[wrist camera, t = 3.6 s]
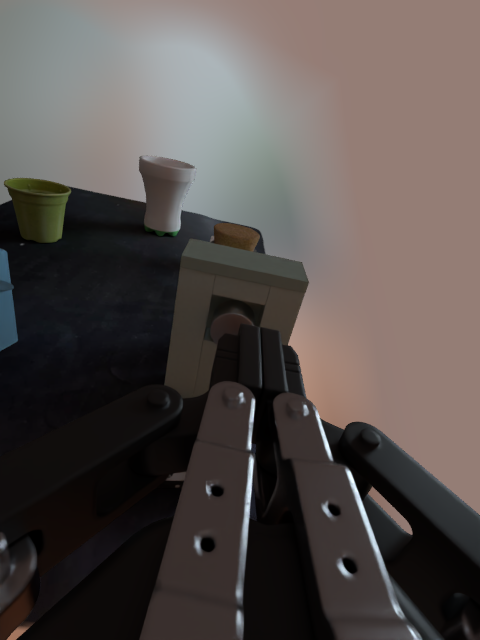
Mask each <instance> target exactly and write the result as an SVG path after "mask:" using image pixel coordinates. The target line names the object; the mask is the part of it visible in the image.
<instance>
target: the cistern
mask: <svg viewBox="0 0 480 640" xmlns="http://www.w3.org/2000/svg"><path fill="white" fill-rule="evenodd" d="M308 283H309V281H308V278H307V275H306V272H305V270H304V267H303V264H302V262H298V261H293V260H289V259H284V258H279V257H275V256H270V255H266V254H261V253H256V252H252V251H247V250H242V249H238V248H233V247H228V246H224V245H219V244H214V243H210V242H205V241H200V240H196V239H190V240H189V242H188V244H187V246H186V248H185V250H184V252H183V254H182V255H181V263H180V271H179V279H178V287H177V294H176V302H175V309H174V317H173V324H172V332H171V339H170V347H169V354H168V362H167V369H166V377H165V384H164V385H166V386H169V387H171V388H173V389H175V390H176V391H177V392H178V393H179V394H180V395H181V397H182V398H193V397H198V396H200V395H203V394H204V393H206V392H207V391H208V390H209V384H210V377H211V371H212V367H213V362H214V358H215V353H216V349H217V345H216V344H215V343H214V341H213V340H212V338H211V335H210V327H211V323H212V318H213V313H214V311H215V309H216V308H217V306H218V305H220V304H221V303H223V302H225V301H228V300H238V301H242V302H244V303H246V304H247V305H248V306H250V308H251V309H252V310H253V312H254V316H255V326H258V327H260V328H261V327H263V328H268V329H273V330H278V331H280V335H281V342H282V344H283V345H288V342H289V339H290V336H291V333H292V330H293V327H294V324H295V321H296V318H297V315H298V312H299V309H300V306H301V303H302V300H303V297H304V294H305V292H306V289H307V286H308Z"/></svg>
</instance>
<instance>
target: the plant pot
mask: <svg viewBox="0 0 480 640" xmlns="http://www.w3.org/2000/svg"><path fill="white" fill-rule="evenodd" d="M4 185H5V186H6V187H7V188H8V192H9V195H10V196H11V197H12V201H13V205H14V209H15V213H16V217H17V220H18V225H19V229H20V233H21V236H22V237H23V238H24V239H26V240H34V241H36V242H39V243H50V242H51V243H52V242H56V241H57V240H58V239H61V237H62V229H63V220H64V212H65V204H66V202H67V200H68V195H69V194H70V193H71V189H70V188H69V187H67V186H65V185H62V184H59V183H55V182H51V181H46V180H40V179H31V178H13V179H8V180H5V181H4Z"/></svg>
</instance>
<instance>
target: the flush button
mask: <svg viewBox="0 0 480 640" xmlns="http://www.w3.org/2000/svg"><path fill="white" fill-rule="evenodd" d="M241 323H243V324H248V325H253V326H255V316H254V312H253V310H252V309H251V308H250V306H248V305H247V304H246V303H244V302H242V301H238V300H228V301H225V302H223V303H221V304H220V305H218V306H217V308H216V309H215V311H214V313H213V318H212V323H211V327H210V335H211V338H212V340H213V341H214V343H215V344H216V345H217V344H218V340H219V339H220V338H221V337H222V336H223V335H224V334H225V333H227V334H232V335H238V331H239V327H240V324H241Z"/></svg>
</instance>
